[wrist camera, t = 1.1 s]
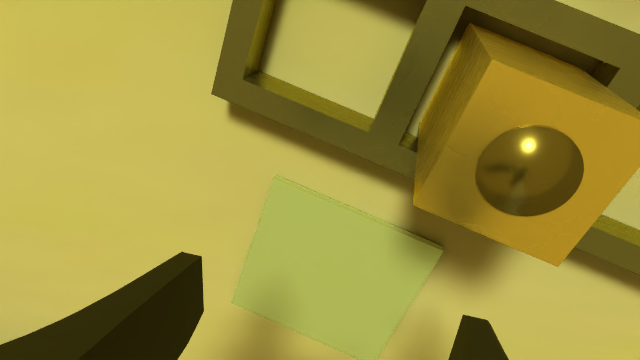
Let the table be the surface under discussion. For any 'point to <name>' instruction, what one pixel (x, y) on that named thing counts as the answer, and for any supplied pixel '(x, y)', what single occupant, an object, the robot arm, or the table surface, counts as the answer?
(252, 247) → the mat
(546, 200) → the yellow rectangular block
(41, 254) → the table surface
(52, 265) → the table surface
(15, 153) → the table surface
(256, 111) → the olive rectangular frame
